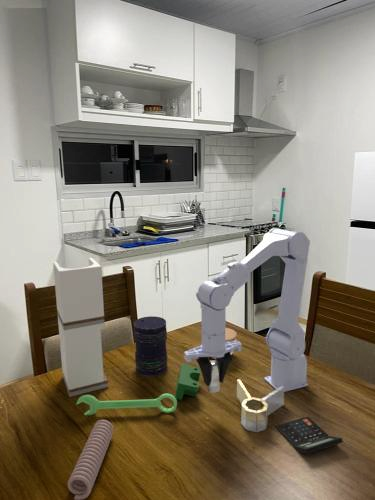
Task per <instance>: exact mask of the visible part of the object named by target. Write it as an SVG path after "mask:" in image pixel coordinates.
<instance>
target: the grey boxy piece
mask: <svg viewBox="0 0 375 500" xmlns="http://www.w3.org/2000/svg"><path fill="white" fill-rule="evenodd" d="M52 264H53V275H54V276H53V277H54V288H55V298H56V311H57V322H58V324H57V325H58V334H59V335H58V336H59V346H60V347H59V348H60V358H61V359H60V360H61V369H62V371H61V372H62V378H63V382H64V385H65V388H66V391H67V394H68V397H69V398H70V397H74V396H78V395H83V394H87V393H90V392H93V391H97V390H101V389H106V388H109V379H108V378H107V376H106V374H105V372H104V365H103V364H104V362H103V347H102V346H103V345H102V329H105V328H106V326H105V325H106V323H105V309H104V308H105V307H104V294H103V293H104V291H103V289H104V288H103V274H102V266H101V265H100V264H99V263H98V261H96V260H95V259H94V258H92V257H89V258H88V266H85V267H78V268H76V267H75V268H66V267H63V266H62V267H61V266H60V265H59V263H58V262H57V261H53V262H52Z"/></svg>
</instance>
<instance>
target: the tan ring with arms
mask: <svg viewBox="0 0 375 500" xmlns="http://www.w3.org/2000/svg"><path fill="white" fill-rule="evenodd" d="M236 397H237V400H238V401H239V403H240V405H241V411H240V412H241V416H240V417H241V420H240V423H241V425H242V426H243V428H244V429H245V430H247V431H250V432H253V433H259V432H261V431H265V430H266V428H267V426H268V416H270V415H271V414H273V413H275V411H277V410H279V409H280V408H281V407H283V406H284V404H285V403H284V401H285V392H284V387H283V386H281V387H279V388H278V389H275V390H273V391H271V392H270V393H269V394H267V395H265V396H263V397H262V398H258V397H253V396H251V394H250V393H249V391H248V390H247V388H246V387H245V385H244V383H243V382H242V380H241V378H240V379H237V380H236Z"/></svg>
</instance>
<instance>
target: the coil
mask: <svg viewBox="0 0 375 500" xmlns="http://www.w3.org/2000/svg"><path fill="white" fill-rule="evenodd" d="M114 431H115V429H114V425H113V424H112V423H111V422H110V421H108V420H106V419H99V420H96V422H95V423H94V425H93V427H92V430H91V432H90V434H89V436H88V438H87V441H86V442H85V444H84V446H83V449H82V451H81V453H80V456H79V457H78V459H77V462H76V463H75V466H74V468H73V471H72V472H71V475H70V477H69V479H68V480H67V487H68V491H70V492H71V493H72V494H73V495H74V498H73V500H85V499H86V498H89V497H90V494H91V492H92V489H93V488H94V485H95V481H96V479H97V476H98V473H99V471H100V468H101V466H102V464H103V461H104V458H105V456H106V453H107V450H108V448H109V445H110V442H111V440H112V437H113V435H114Z"/></svg>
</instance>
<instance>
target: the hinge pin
mask: <svg viewBox="0 0 375 500" xmlns="http://www.w3.org/2000/svg"><path fill="white" fill-rule="evenodd" d="M209 361H210V362H211V363H212V366H211V372H210V385H209V386H207V385H206V386H207V392H210V393H213V394H214V393H219V392H220V386H221V383H220V363H219V362H218V361H216V359H214V360H209Z"/></svg>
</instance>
